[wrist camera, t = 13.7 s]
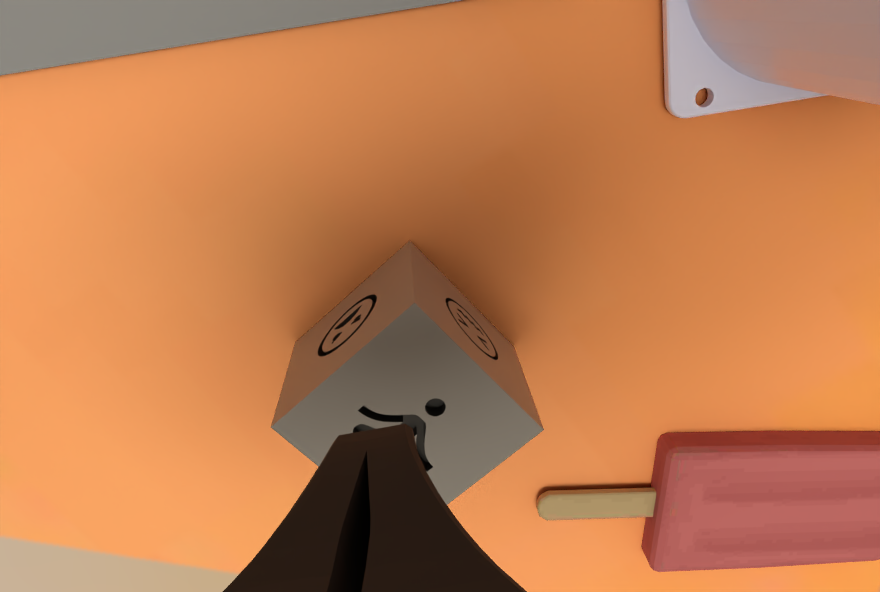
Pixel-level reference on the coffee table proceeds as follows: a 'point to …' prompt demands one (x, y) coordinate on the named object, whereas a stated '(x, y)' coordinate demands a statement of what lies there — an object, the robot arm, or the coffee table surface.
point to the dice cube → (410, 376)
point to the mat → (154, 25)
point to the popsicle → (747, 500)
